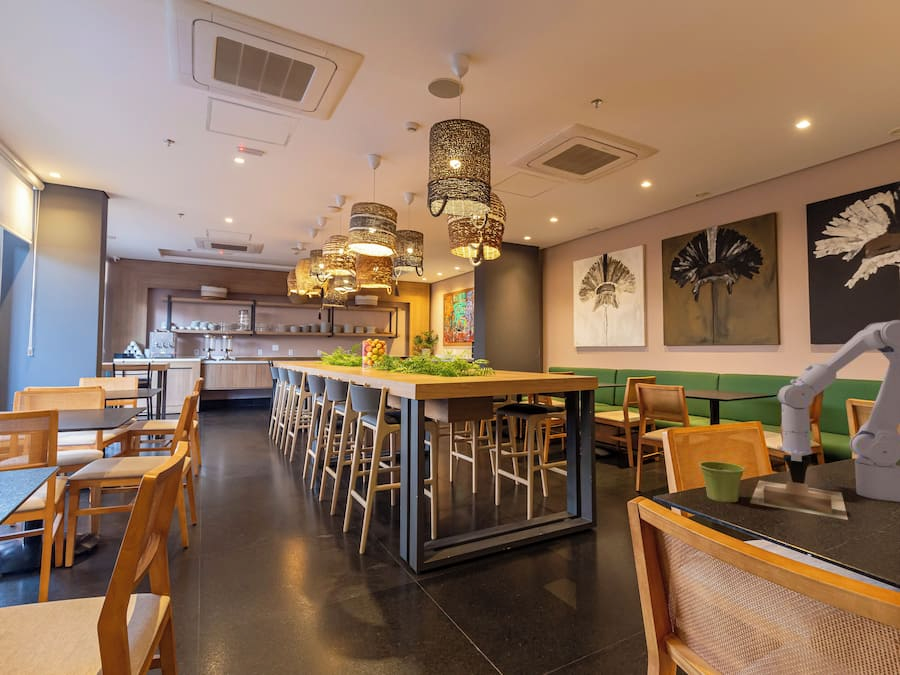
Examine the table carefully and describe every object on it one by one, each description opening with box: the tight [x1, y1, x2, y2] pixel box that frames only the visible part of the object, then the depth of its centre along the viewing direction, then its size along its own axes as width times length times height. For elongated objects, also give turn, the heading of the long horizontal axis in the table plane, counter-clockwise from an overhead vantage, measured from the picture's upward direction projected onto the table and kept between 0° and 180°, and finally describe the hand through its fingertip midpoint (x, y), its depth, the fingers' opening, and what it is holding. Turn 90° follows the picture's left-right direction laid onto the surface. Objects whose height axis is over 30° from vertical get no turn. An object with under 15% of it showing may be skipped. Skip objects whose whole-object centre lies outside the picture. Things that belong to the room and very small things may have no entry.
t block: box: [764, 481, 832, 514], centre depth 103 cm, size 12×12×3 cm
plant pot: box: [698, 461, 746, 503], centre depth 106 cm, size 9×9×9 cm
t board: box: [749, 480, 849, 521], centre depth 106 cm, size 17×24×1 cm
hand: (798, 484), depth 113 cm, fingers closed
